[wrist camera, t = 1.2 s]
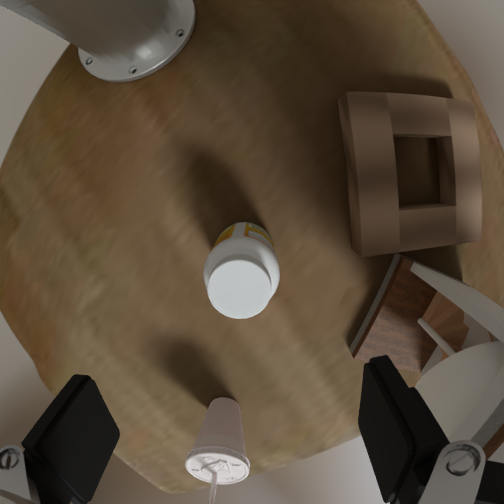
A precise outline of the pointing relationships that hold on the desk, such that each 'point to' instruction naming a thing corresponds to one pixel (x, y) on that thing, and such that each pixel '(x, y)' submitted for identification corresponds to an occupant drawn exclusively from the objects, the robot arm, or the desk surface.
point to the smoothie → (219, 447)
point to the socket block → (385, 173)
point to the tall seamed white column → (442, 348)
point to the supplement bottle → (241, 271)
